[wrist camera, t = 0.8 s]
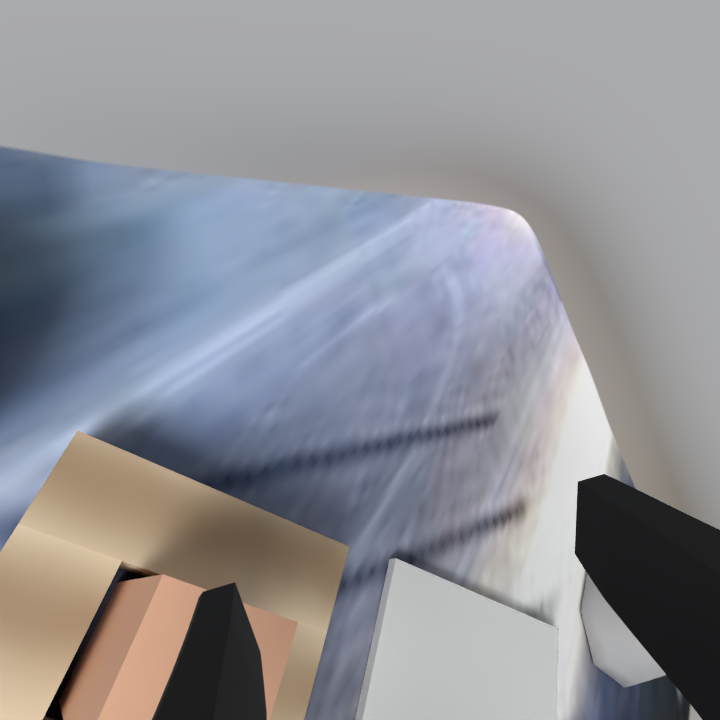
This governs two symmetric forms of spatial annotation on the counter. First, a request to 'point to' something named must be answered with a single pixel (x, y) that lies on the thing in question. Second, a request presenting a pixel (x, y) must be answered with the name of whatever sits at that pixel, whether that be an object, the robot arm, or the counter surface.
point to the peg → (154, 650)
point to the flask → (614, 642)
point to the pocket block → (149, 567)
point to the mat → (455, 655)
